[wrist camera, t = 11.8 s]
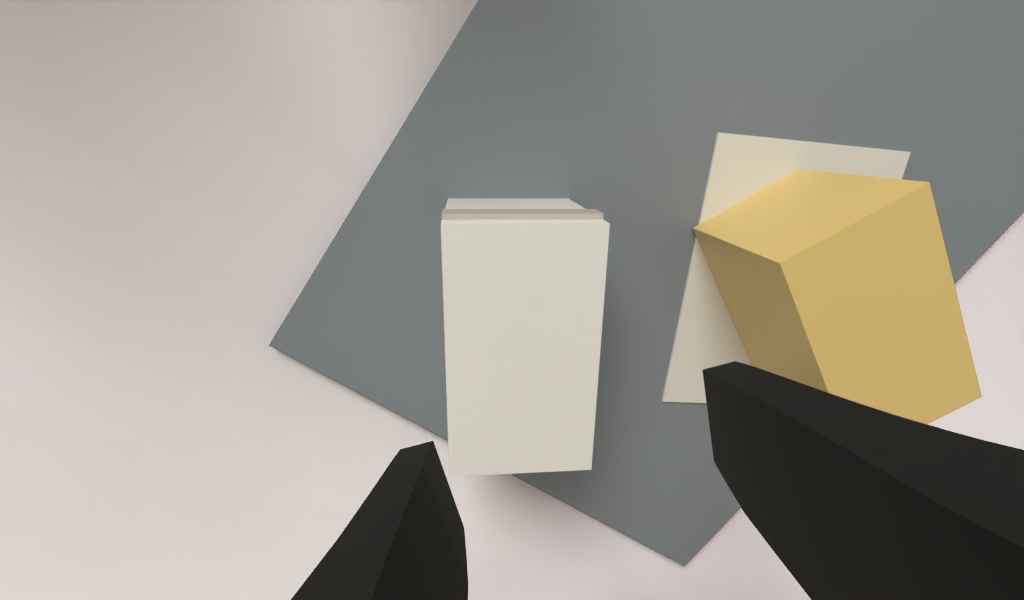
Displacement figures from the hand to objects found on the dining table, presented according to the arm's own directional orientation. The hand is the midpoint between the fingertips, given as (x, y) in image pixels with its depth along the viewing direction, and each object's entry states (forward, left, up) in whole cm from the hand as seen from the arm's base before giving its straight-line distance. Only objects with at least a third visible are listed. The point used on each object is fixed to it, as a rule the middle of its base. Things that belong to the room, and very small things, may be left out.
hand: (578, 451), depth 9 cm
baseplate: (-6, -3, -9) cm, 12 cm away
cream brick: (+1, 0, -9) cm, 9 cm away
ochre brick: (-9, -1, -9) cm, 13 cm away
